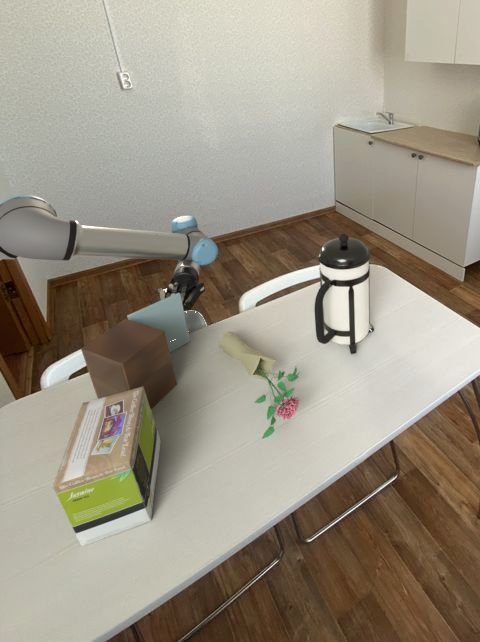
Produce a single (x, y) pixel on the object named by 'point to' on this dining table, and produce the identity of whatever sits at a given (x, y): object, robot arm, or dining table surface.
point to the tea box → (110, 466)
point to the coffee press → (343, 292)
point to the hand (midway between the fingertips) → (169, 325)
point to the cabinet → (130, 361)
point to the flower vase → (262, 376)
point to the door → (165, 320)
